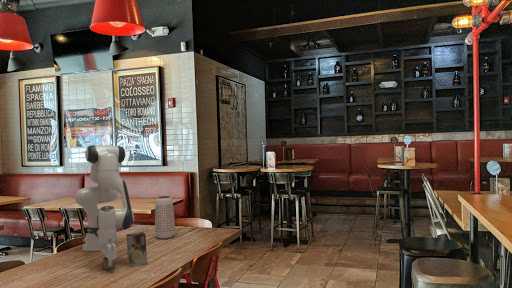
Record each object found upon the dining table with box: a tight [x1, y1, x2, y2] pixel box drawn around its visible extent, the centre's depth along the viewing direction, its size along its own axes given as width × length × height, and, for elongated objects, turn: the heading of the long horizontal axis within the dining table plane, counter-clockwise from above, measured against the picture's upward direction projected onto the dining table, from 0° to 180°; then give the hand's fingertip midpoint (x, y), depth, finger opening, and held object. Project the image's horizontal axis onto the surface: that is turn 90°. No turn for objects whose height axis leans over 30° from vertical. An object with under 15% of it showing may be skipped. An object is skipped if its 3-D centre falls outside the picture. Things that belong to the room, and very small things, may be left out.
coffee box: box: [126, 231, 148, 267], centre depth 199 cm, size 9×6×16 cm
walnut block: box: [102, 257, 115, 271], centre depth 192 cm, size 4×4×5 cm
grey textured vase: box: [154, 195, 176, 240], centre depth 255 cm, size 13×13×28 cm
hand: (108, 264), depth 192 cm, fingers closed on walnut block, 4 cm apart
